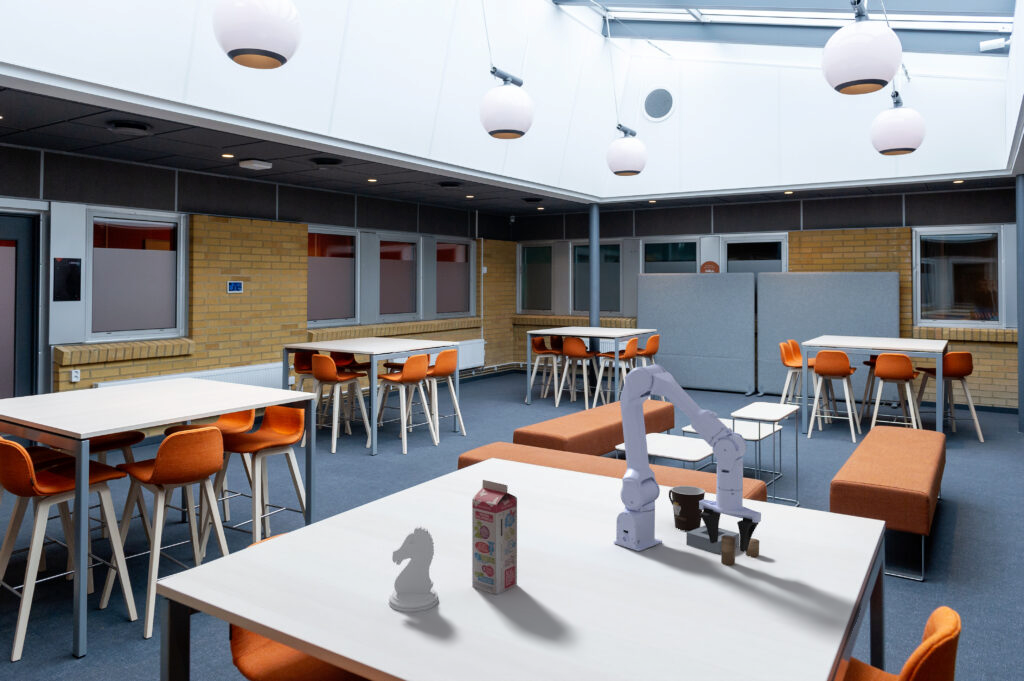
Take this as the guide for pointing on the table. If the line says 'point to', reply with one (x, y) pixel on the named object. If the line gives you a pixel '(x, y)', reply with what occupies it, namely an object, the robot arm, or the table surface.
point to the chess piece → (414, 574)
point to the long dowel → (728, 550)
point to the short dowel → (753, 548)
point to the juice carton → (494, 538)
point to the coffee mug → (686, 506)
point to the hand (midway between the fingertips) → (728, 546)
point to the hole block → (702, 539)
